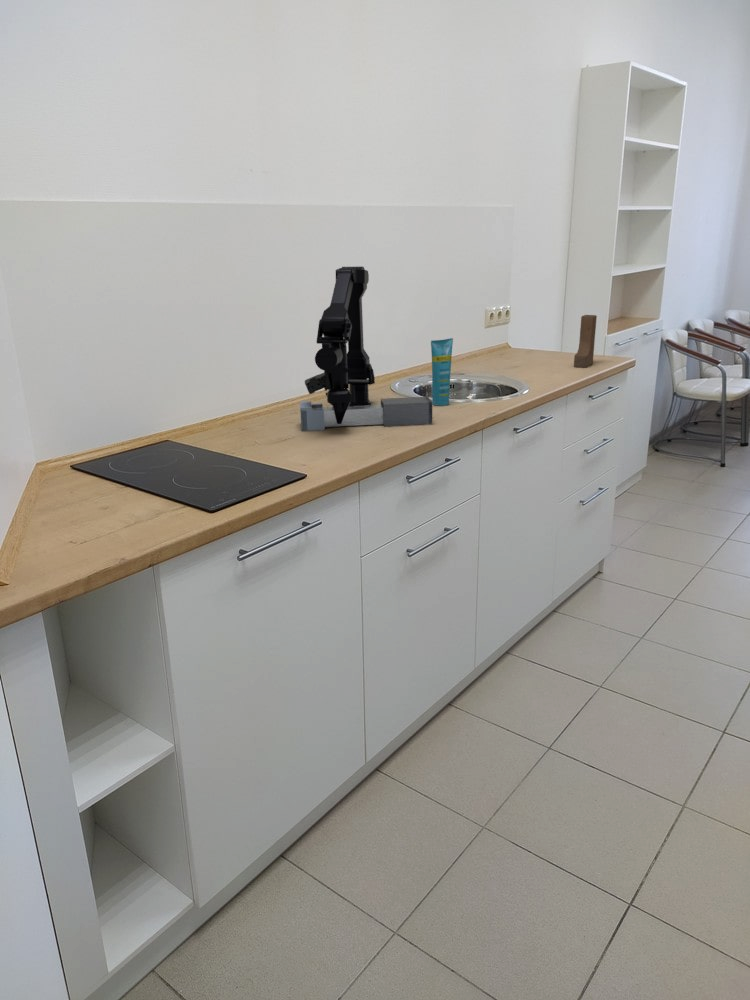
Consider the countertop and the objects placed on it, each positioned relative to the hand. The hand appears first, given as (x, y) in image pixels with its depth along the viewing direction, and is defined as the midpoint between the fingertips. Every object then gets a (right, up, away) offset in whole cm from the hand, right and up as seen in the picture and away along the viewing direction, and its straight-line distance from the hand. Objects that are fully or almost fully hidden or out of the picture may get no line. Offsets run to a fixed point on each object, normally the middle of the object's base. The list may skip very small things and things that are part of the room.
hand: (338, 421), depth 198 cm
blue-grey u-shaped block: (-7, -1, 0) cm, 7 cm away
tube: (+30, +7, +21) cm, 37 cm away
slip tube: (+4, -1, +1) cm, 4 cm away
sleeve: (+18, 0, +2) cm, 19 cm away
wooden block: (+87, +29, +75) cm, 119 cm away
